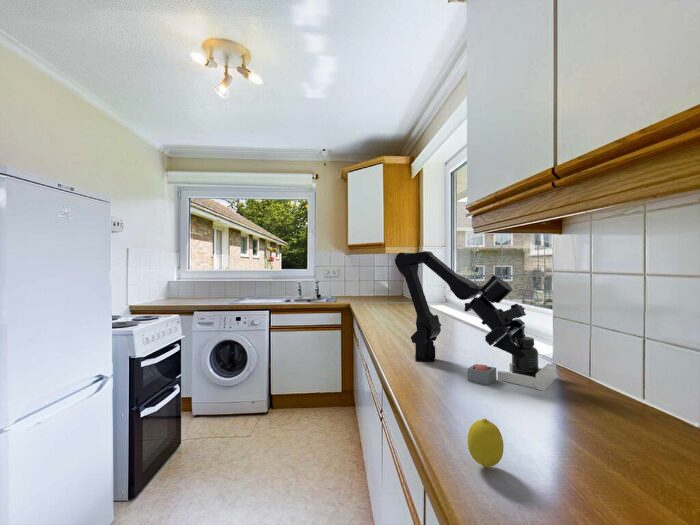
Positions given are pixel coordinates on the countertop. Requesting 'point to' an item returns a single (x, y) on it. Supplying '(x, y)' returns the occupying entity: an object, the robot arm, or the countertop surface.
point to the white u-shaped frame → (539, 382)
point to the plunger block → (481, 375)
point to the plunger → (481, 367)
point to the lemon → (485, 443)
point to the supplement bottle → (525, 357)
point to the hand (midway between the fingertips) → (527, 354)
